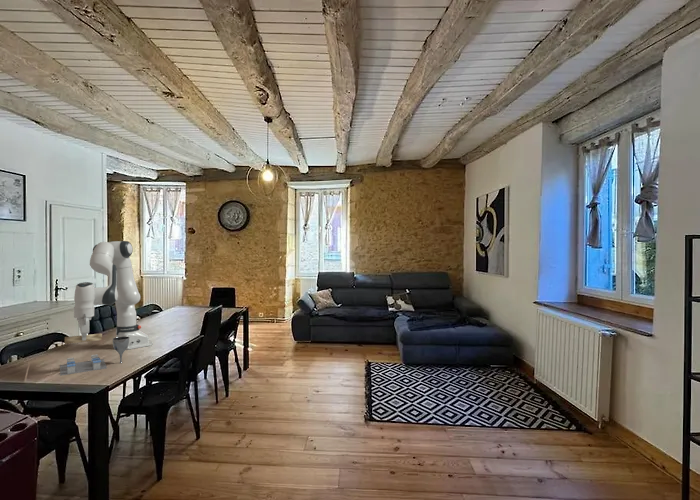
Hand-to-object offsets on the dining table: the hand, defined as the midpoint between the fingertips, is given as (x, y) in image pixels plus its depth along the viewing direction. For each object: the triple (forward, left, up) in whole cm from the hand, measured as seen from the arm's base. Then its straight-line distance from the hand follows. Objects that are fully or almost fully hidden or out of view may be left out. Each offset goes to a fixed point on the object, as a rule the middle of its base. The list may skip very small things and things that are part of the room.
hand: (83, 339), depth 198 cm
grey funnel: (-17, -1, -17) cm, 24 cm away
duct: (0, -5, -17) cm, 18 cm away
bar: (0, 0, -1) cm, 1 cm away
